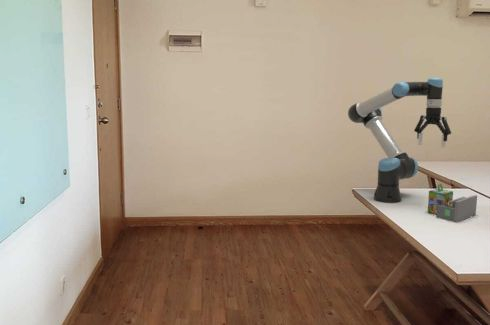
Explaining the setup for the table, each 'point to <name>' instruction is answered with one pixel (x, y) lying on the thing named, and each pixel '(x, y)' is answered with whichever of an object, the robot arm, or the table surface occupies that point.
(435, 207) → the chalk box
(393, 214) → the table surface
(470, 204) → the stand
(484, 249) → the table surface
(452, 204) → the paddle
